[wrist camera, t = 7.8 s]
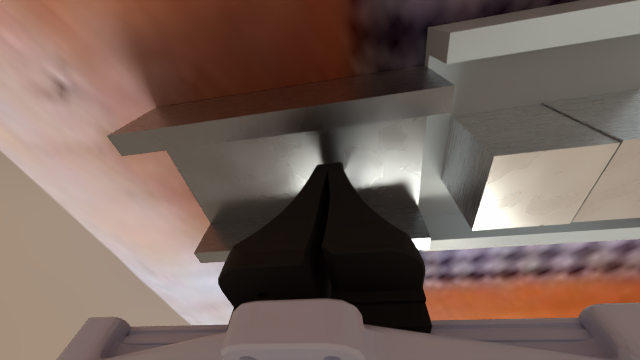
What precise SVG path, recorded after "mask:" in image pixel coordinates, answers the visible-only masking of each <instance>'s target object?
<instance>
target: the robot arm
mask: <svg viewBox="0 0 640 360" xmlns="http://www.w3.org/2000/svg"><path fill="white" fill-rule="evenodd" d="M424 276H425V265H424V262H423V259H422V257H421V255H420V253H419V251H418V249H417V247H416V246H415V244H414V242H413V241H412V239H411V238H410V236H409V235H408V234H407V233H405V232H403V231H402V230H400V229H398V228H397V227H395V226H393V225H392V224H390V223H389V222H388V221H386V220H385V219H384V218H383V217H381V216H380V215H379V214H378V213H377V212H375V211H374V210H373V209H372V208H371V207H370V206H369V205H368V204H367V203H366V202H365V201H364V200H363V198H362V197H361V196H360V195H359V194H358V192H357V191H356V190H355V188H354V187H353V185H352V184H351V182H350V180H349V179H348V177H347V175H346V173H345V171H344V168H343V164H342V163H341V162H338V163H329V164H320V165H317V166H316V167H315V169H314V171H313V172H312V174H311V176H310V177H309V179H308V180H307V182H306V183H305V185H304V186H303V188H302V189H301V190H300V192H299V193H298V194H297V196H296V197H295V198H294V199H293V200H292V202H291V203H290V204H289V205H288V206H287V207H286V208H285V209H284V210H283V211H282V212H281V213H280V214H278V215H277V216H276V217H275V218H274V219H273V220H272V221H270V222H269V223H268V224H266V225H265V226H264V227H262V228H261V229H260V230H258V231H257V232H255V233H254V234H252V235H251V236H249V237H247V238H246V239H244V240H242V241H241V242H239V243H237V244H235V245H234V246H233V247H232V249H231V251H230V253H229V255H228V257H227V259H226V262H225V264H224V266H223V269H222V271H221V273H220V276H219V278H218V284H219V286H220V288H221V290H222V292H223V293H224V294H225V296H226V297H227V298H228V300H229V301H230V302H231V304H232V305H233V307H234V309H233V312H232V315H231V318H230V321H229V324H228V325H192V326H145V327H144V326H142V327H130V325H129V324H128V323H127V322H126V321H125V320H122V319H120V318H117V317H92V318H89V319H88V320H87V321H86V323H85V324H84V325H83V326H82V328H81V329H80V330H79V332H78V333H77V334H76V335H75V337H74V338H73V339H72V341H71V342H70V343H69V344H68V346H67V347H66V348H65V349H64V351H63V352H62V353H61V354H60V356H59V357H58V358H57V360H640V303H613V304H596V305H592V306H589V307H587V308H585V309H584V310H583V311H582V312H581V313H580V315H579V317H578V318H539V319H490V320H440V321H431V320H430V317H429V314H428V310H427V307H426V304H425V302H426V297H425V294H424V290H423V283H424Z"/></svg>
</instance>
